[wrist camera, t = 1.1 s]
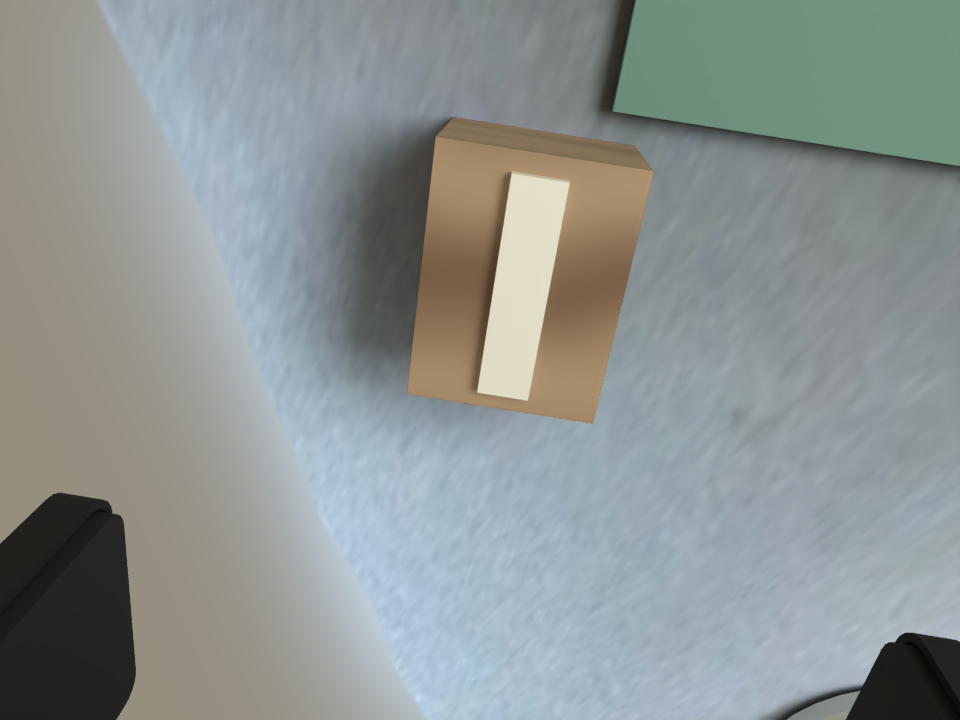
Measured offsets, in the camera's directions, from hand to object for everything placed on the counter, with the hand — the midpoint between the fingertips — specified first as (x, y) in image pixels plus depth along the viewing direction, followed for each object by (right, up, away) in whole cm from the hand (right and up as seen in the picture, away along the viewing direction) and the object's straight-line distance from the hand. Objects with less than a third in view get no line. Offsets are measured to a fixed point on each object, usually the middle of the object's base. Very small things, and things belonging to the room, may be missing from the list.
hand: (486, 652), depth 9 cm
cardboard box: (+1, +8, +17) cm, 18 cm away
